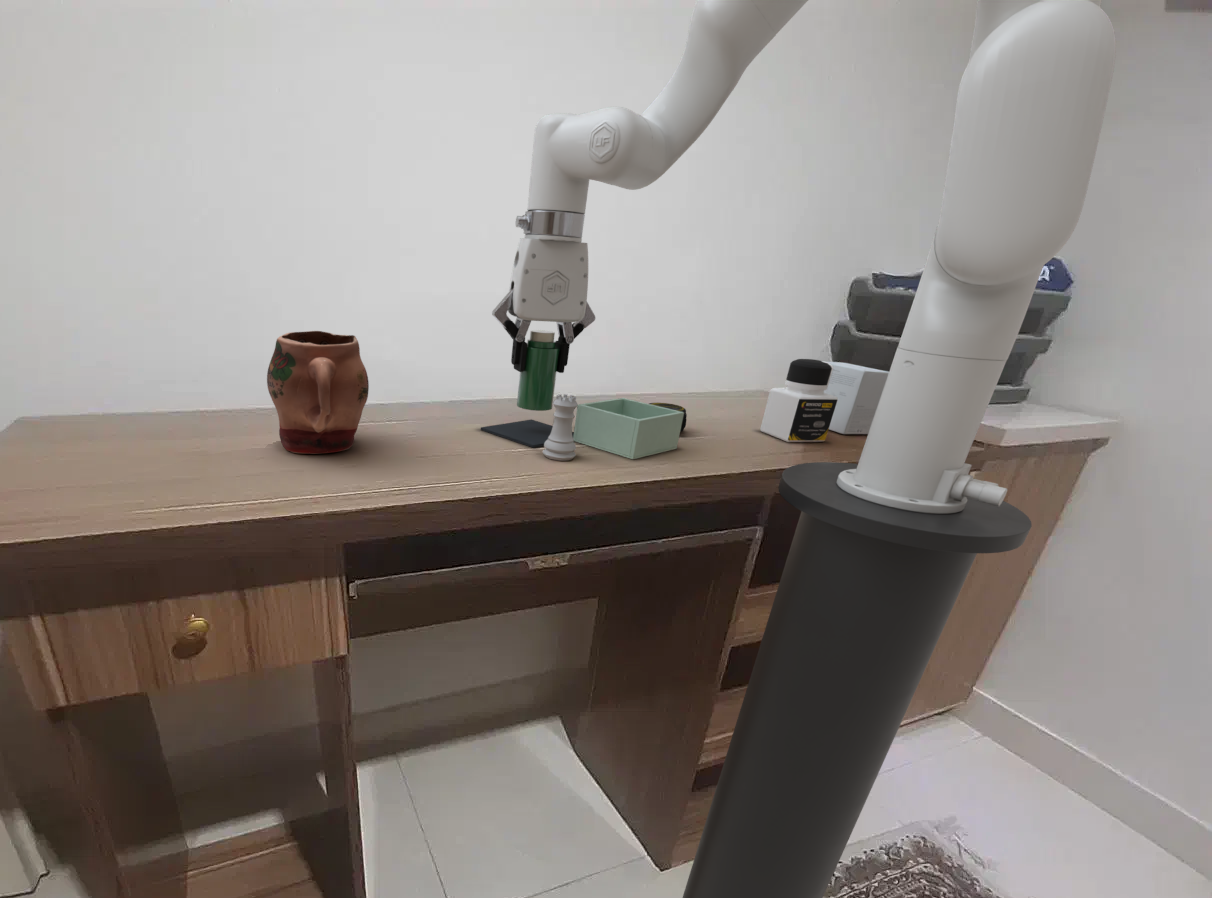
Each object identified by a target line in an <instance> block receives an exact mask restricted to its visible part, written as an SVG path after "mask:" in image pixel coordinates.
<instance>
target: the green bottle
mask: <svg viewBox="0 0 1212 898" xmlns="http://www.w3.org/2000/svg"><path fill="white" fill-rule="evenodd" d="M526 343H527V355H526V365H525V371H523V372H519V377H518V388H517V389H518V390H517V400H516V407H518V408H520V409H522V410H527V411H535V412H544V411H545V412H546V411H551V410H552V409H553V406H554V404H553V402H554V396H555V388H556V379H557V373H558V372H557V364H558V356H559V347H556V346H555V345H556V340H555V331H552V330H541V329H531V330H530V332H529V338H527V341H526Z"/></svg>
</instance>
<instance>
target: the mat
mask: <svg viewBox="0 0 1212 898" xmlns="http://www.w3.org/2000/svg"><path fill="white" fill-rule="evenodd" d="M552 427H553V424H548V423H545V422H542V421H538V420H534V419H532V418H531V419H525V420H519V421H513V422H507V423H506V422H505V423H500V424H495V425H494V424H493V425H487V426H481V427H480V431H482V432H485V433H489V434H492V435H495V436H498V437H501V438H503V439H506V440H509V441H511V442H515V443H518V444H521V445H524V446H527V447H529V448H533V449H534V448H539V447H540V448H541V447H544V443H545V441H546V440H548V436H550V434H551V431H552ZM573 435H574V431H572V436H573Z"/></svg>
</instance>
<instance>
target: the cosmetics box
mask: <svg viewBox="0 0 1212 898" xmlns="http://www.w3.org/2000/svg"><path fill="white" fill-rule="evenodd" d="M825 362H828V363H829V364H831V365H832V366H833V371H832V374H831V377H830V381H829V384H828V387H827V390H824V393H826V394H829V395H833V396H836V397H837V398H838V400H837V403H836V407H835V410H834V413H833V416H832V420H831V423H830V426H829V429H828V431H833V432H835V433H838V434H840V435H868V433H869V430H870V427H871V424H872V421H873V418H874V415H875V412H876V409H877V406H878V404H879V401H880V398H881V395H882V392H883V389H884V386H885V383H886V380H887V377H888V374H889V371H888V370H882V369H877V368H873V367H867V366H863V365H858V364H853V363H849V362H842V361H841V362H840V361H839V362H838V361H825Z"/></svg>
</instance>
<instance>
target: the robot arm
mask: <svg viewBox="0 0 1212 898" xmlns="http://www.w3.org/2000/svg"><path fill="white" fill-rule="evenodd" d="M808 1H809V0H695V2H694V3H695V4H694V6H693V9H692V13H691V17H690V21H689V26H688V31H687V37H686V41H685V45H684V50H683V52H682V55H681V58H680V60H679V62H678V64H677V66H676V68H675V69H674V72H673V74H672V75H671V77H670V78H669V80H668V82H667V83H666V84H665V85H664V86H663V89H662V90H661V91H660V92H659V93H658V94H657V96H656V97H655V98H654V100H653V101H652V102H651V103H650V104H649V105H648V106H647V108H646V109H645V110H644V111H643V112H642V113H641V114H639V113H636V112H635V111H633V110H631V109H629V108H627V107H624V106H608V107H603V108H600V109H595V110H591V111H587V112H583V113H579V114H577V113H570V112H569V113H567V112H556V113H555V112H554V113H549V114H546V115H543V116H542V117H540V118H539V119H538V120H537V123H536V125H535V127H534V135H533V144H532V154H531V163H530V164H531V166H530V177H529V186H528V187H529V188H528V197H527V198H528V199H527V208H526V209H527V210H526V211H525V214H522V215H516V218H515V228H520V229H521V230H522V231H523V234H524V237H523V238H519V241H518V244H517V248H516V250H515V256H514V260H513V263H512V264H513V265H512V269H511V276H510V282H509V289H508V292H507V294H506V295H505V296H504V297H503V298H502V299H501V300H500V302H498V304H497V305H496V307H495V308H493V310H492V311H491V315H492V317H493V318H494V319H495V320H496V321H497V322H498V323H499V324H500V325H501V326H502V327H503V329H504V330H505V331H506V332H507V334H508V335H509V337H510V339H511V340H512V349H511V359H510V362H511V365H512V366H513V369H514V370H515V371H517V372H519V373H520V372H523V371H525V365H526V355H527V341H526V336H527V333H528V331H529V328H530V326H531V323H532V322H553V323H555V322H556V328H557V335H558V338H557V340H555V342H556V345H555V346H556V347H559V356H558V364H557V372H556V373H559V374H564V373H565V368H566V367H567V366H568V361H569V355H570V354H569V353H570V346H571V344H573V343H574V341H575V339H576V338H577V337H578V336H579V335H580V334H581V333H582V332H583V331H584V330H585V329H586V328H588V327H589V326H590V325H591V324H592V323H594V322H595V321H596V315H595V312H593V310H592V308H591V306H590V304H589V302H588V290H589V289H588V288H589V246H588V245H589V243H588V242H582V241H583V232H584V227H585V226H584V225H585V218H586V208H587V201H588V193H589V187H590V185H589V184H590V180H591V181H596V182H601V183H603V184H607V185H609V186H610V185H611V186H615V187H618V188H621V189H625V190H629V191H635V190H636V191H637V190H641V189H644V188H646V187H648V186H650V185H651V184H653V183H654V182H656V181H657V180H659V178H661V177H662V176H663V175H664V174H665V173H666V172H667V171H668V170H669V169H670V168H671V167H672V166H673V165H674V164H675V163H676V162H677V161H678V160H679V159H680V158H681V157H682V156H683V155H684V154H685V153H686V152H687V151H688V149H689V148H691V147H692V145H693V144H694V143H695V142H696V141H698V139H699V138H700V137H701V135H702V134H703V133H704V132H705V130H706V129H707V128H708V127H709V125H711V123H712V121H713V120H714V119H715V117H716V116H717V114H718V113H719V112H720V110H721V109H722V107H723V106H724V104H725V102H726V101H727V100H728V98H729V96H730V95H731V94H732V93H733V91H734V89H735V88H736V86H737V85H738V83H739V81H740V80H741V78H742V76H743V75H744V72H745V71H746V70H747V68H748V67H749V65H750V64H751V63H752V62H753V61H754V59H756V57H757V56H759V54H760V53H761V52H762V51H763V49H765V48H766V46H767V45H768V44H769V43H770V42H771V41H772V40H773V39H774V38H775V37H776V36H777V34H778V33H779V32H780V31H781V30H782V29H783V28H784V27H785V26H786V25H787V24H788V23H789V21H790V20H791V19H793V17H795V15H796V14H797V13H798V12H799V11H800V10H801V9H802V8H803V7H804V5H806V3H808ZM1101 4H1102V0H976V6H975V17H974V25H973V26H974V27H973V32H972V33H973V34H972V38H971V45H970V50H969V56H968V62H967V65H966V67H965V68H964V71H963V73H962V76H961V79H960V81H959V84H958V85H959V86H958V90H957V95H956V101H955V111H954V120H953V127H952V133H951V138H950V139H951V140H950V146H949V153H948V160H947V166H946V173H945V179H944V185H943V194H942V197H941V198H942V199H941V205H940V212H939V217H938V223H937V226H936V229H935V232H934V235H933V238H932V240H931V244H930V247H929V250H928V254H927V257H926V261H925V265H924V268H923V270H922V274H921V276H920V280H919V283H918V285H917V288H916V292H915V295H914V298H913V301H912V304H911V307H910V309H909V312H908V315H907V319H906V321H905V325H904V328H903V330H902V334H901V337H900V339H899V342H898V345H897V347H896V350H895V353H894V356H893V360H892V362H891V365H890V367H889V371H888V372H889V374H888V377H887V380H886V383H885V386H884V389H883V392H882V395H881V398H880V401H879V404H878V406H877V409H876V412H875V415H874V418H873V421H872V424H871V427H870V430H869V433H868V434H867V437H866V438H865V439H866V440H865V442H864V446H863V449H862V450H861V454H860V457H859V460H858V463H857V464H858V466H857V469H849V470H845V471H843V472H841V473H840V474H839V475H838V479H837V484H838V486H839V487H840V488H841V489H842V490H844V491H845V492H847V493H849V494H851V495H853V496H855V497H858V498H861V499H863V500H866V501H869V502H872V503H876V504H879V505H883V506H887V507H891V508H896V509H900V510H906V511H912V512H919V513H928V514H952V513H957V512H960V511H962V510H963V509H964V508H965V505H966V503H967V498H971V499H975V500H978V501H979V502H983V503H986V504H990V505H994V506H998V507H999V506H1000V505H1001V503H1002V501H1005V500H1004V499H1005V498H1006V496H1007V493H1008V488H1007V487H1002V486H999V483H996V482H993V481H988V480H980V479H977V478H974V475H972V474H969V473H970V470H971V468H972V466H973V464H970V463H966V460H967V458H968V455H969V453H970V451H971V448H972V446H973V443H974V441H975V438H976V437H977V434H978V431H979V429H980V427H981V424H982V421H983V419H984V416H985V414H986V412H987V409H988V407H989V405H990V402H991V399H992V397H993V395H994V393H995V390H996V388H997V385H998V382H999V380H1000V378H1001V375H1002V373H1003V370H1004V368H1005V365H1006V363H1007V361H1008V360H1009V358H1010V355H1011V352H1012V350H1013V348H1014V345H1015V343H1016V340H1017V337H1018V335H1019V333H1020V330H1021V328H1022V325H1023V324H1024V323H1023V322H1024V320H1025V317H1026V315H1027V312H1028V309H1029V306H1030V304H1031V300H1032V298H1033V295H1034V292H1035V290H1036V287H1037V284H1038V281H1039V278H1040V276H1041V274H1042V270H1043V268H1044V266H1045V265H1046V264H1048V262H1050V261H1051V260H1052V259H1053V258H1054V257H1055V256H1056V255H1058V253H1059V252H1060V251H1061V250H1063V248H1064V246H1065V245H1066V244H1067V243H1068V241H1069V240H1070V238H1071V237H1072V235H1073V233H1074V232H1075V229H1076V228H1077V225H1078V223H1079V220H1080V217H1081V214H1082V211H1083V207H1084V204H1085V201H1086V196H1087V191H1088V188H1089V184H1090V180H1091V175H1092V171H1093V167H1094V163H1095V158H1096V153H1097V149H1098V145H1099V140H1100V135H1101V131H1102V127H1103V122H1104V117H1105V113H1106V109H1107V103H1108V101H1109V100H1108V99H1109V95H1110V90H1111V85H1112V81H1113V76H1114V71H1115V63H1116V56H1117V55H1116V53H1117V39H1116V32H1115V28H1114V26H1113V23H1112V21H1111V19H1110V17H1109V16H1108V14H1107V13H1106V12H1105V10H1104V9H1102V7H1101V6H1102V5H1101ZM507 312H508V313H509V314H510V315H511V316H513V317H516V319H515V321H513V320H512V319H510V318H509V316H508V314H507ZM966 497H967V498H966Z"/></svg>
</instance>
